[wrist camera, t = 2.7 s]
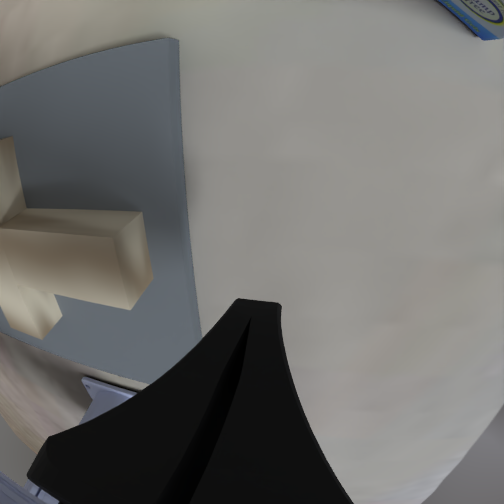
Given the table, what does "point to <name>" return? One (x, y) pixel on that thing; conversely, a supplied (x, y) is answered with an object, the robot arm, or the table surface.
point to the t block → (64, 255)
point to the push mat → (112, 194)
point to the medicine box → (480, 16)
